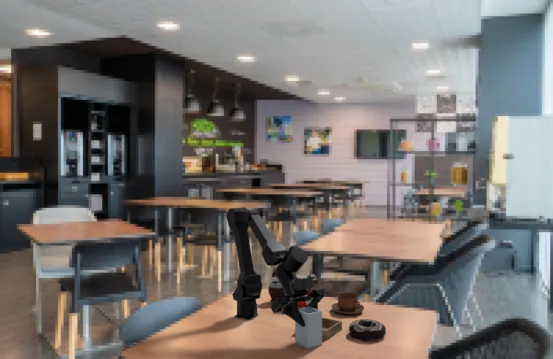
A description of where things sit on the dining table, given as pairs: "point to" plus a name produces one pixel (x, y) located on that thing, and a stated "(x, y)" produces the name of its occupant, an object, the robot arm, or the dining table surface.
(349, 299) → the cup and saucer
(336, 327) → the shallow brown tray
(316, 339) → the tall grey bin
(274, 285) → the mate gourd
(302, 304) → the canned food
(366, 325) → the donut
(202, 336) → the dining table surface
